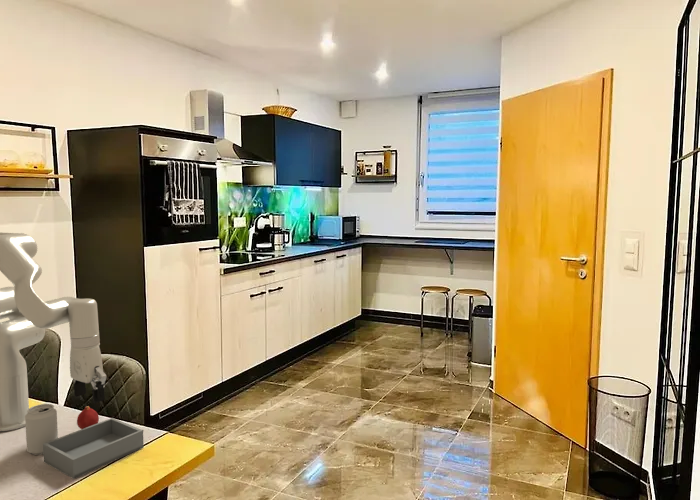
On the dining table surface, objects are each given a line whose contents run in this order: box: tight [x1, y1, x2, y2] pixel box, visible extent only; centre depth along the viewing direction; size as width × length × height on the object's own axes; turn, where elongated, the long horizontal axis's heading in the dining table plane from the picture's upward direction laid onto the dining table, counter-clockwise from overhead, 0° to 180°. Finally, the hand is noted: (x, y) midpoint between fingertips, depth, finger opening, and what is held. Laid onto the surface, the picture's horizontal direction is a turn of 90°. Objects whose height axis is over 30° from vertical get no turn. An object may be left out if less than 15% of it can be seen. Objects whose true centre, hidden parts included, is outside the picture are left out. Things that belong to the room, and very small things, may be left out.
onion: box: [76, 405, 100, 430], centre depth 154 cm, size 6×6×8 cm
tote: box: [42, 417, 144, 480], centre depth 140 cm, size 15×20×5 cm
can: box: [25, 403, 59, 456], centre depth 143 cm, size 8×8×12 cm
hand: (89, 398), depth 153 cm, fingers open, 9 cm apart
